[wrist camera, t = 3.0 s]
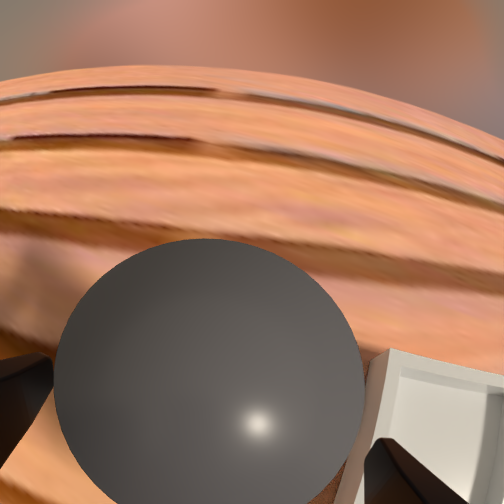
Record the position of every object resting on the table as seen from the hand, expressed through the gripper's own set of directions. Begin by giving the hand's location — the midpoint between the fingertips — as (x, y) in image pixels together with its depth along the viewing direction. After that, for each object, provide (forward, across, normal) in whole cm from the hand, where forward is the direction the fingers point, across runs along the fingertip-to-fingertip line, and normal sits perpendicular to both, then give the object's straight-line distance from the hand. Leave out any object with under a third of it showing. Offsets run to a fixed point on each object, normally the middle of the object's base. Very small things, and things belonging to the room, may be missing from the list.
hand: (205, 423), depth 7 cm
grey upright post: (+6, 0, +6) cm, 9 cm away
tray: (+5, -13, +7) cm, 16 cm away
